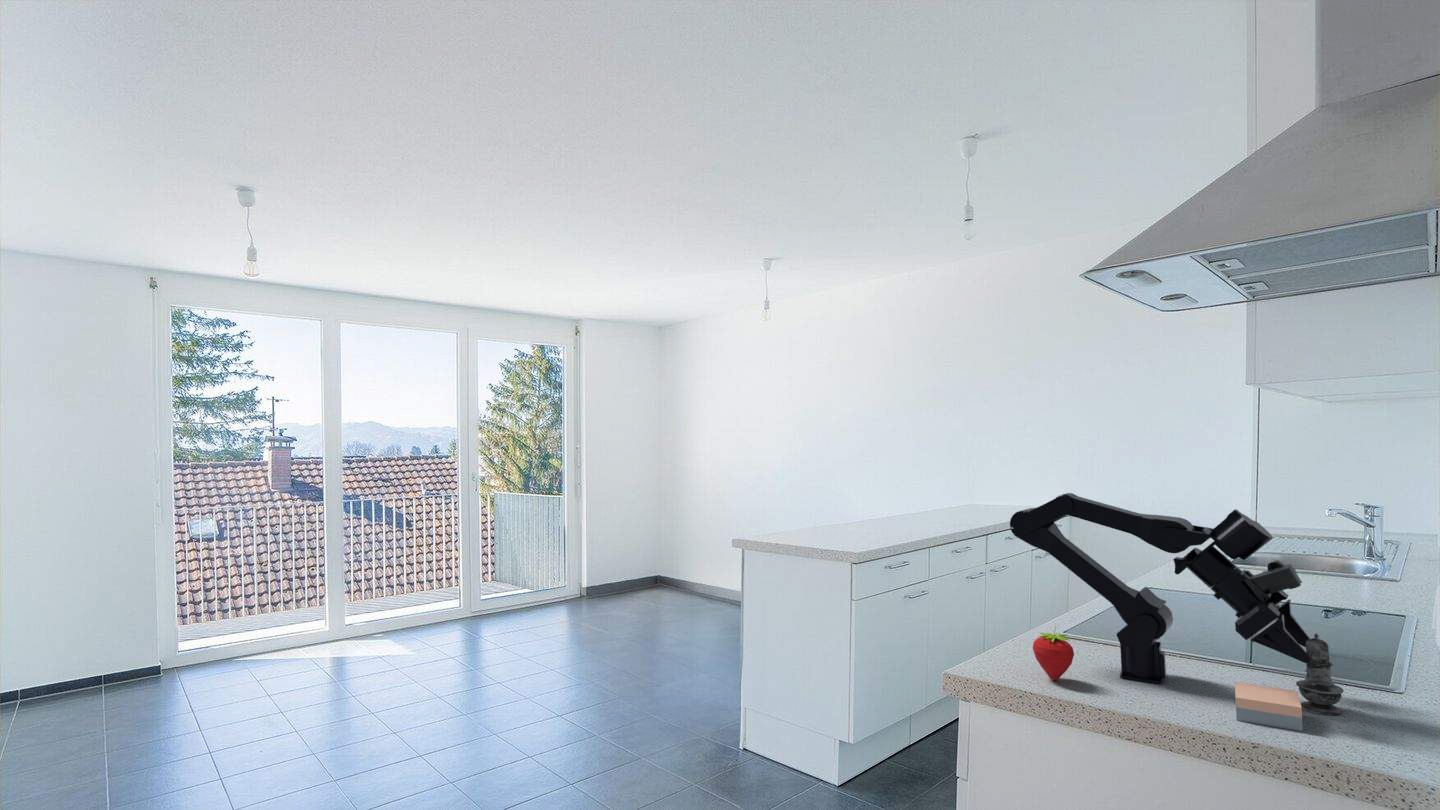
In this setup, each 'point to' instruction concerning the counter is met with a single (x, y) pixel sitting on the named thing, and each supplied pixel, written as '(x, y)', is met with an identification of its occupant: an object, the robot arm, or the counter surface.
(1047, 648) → the strawberry
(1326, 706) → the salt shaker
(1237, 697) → the peach and grey block
